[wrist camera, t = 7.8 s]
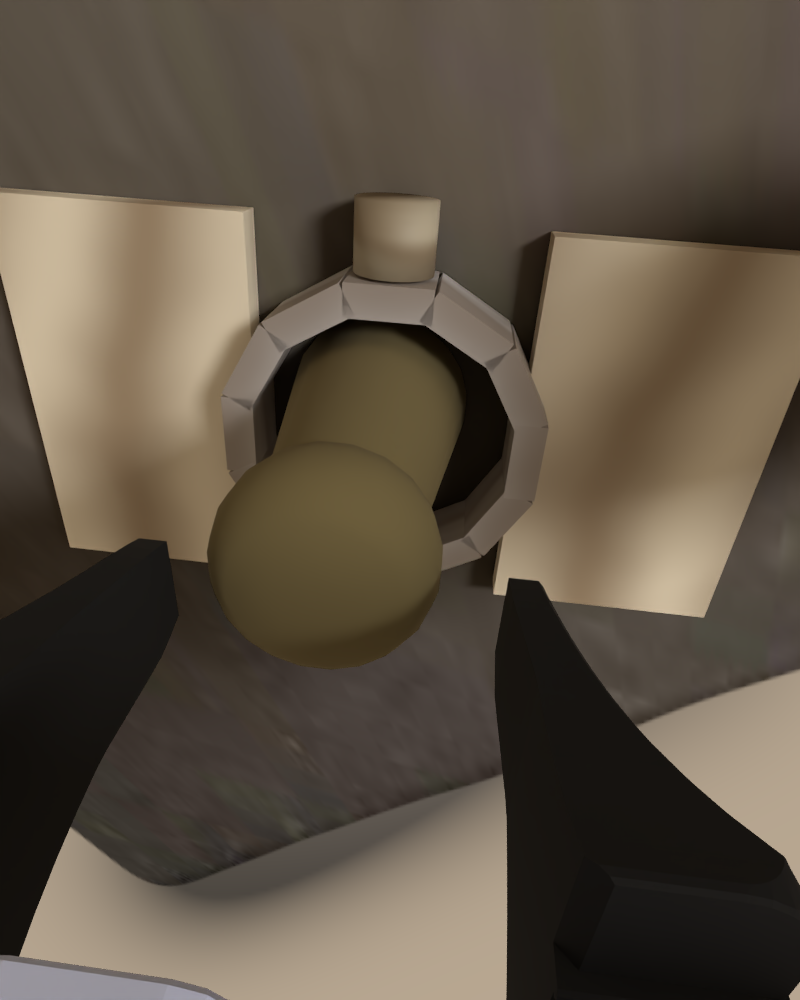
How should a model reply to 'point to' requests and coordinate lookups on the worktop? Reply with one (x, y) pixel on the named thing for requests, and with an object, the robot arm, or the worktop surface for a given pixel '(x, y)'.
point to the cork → (344, 501)
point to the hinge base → (455, 317)
